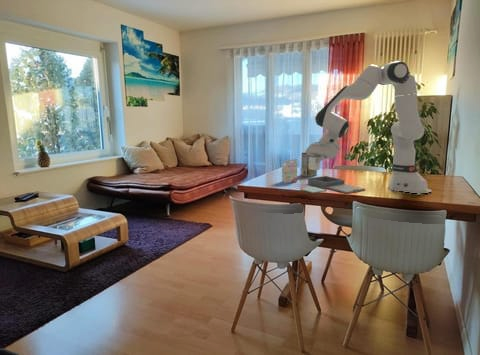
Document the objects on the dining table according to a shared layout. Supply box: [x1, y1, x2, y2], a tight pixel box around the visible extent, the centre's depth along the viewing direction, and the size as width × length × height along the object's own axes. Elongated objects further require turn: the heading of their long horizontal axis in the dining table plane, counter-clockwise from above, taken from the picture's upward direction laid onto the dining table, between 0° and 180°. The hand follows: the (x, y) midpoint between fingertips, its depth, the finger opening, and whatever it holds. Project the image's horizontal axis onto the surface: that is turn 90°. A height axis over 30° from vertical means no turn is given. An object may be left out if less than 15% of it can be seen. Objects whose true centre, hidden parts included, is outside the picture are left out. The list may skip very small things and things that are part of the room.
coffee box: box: [300, 151, 318, 177], centre depth 236 cm, size 9×6×16 cm
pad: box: [300, 186, 327, 194], centre depth 192 cm, size 10×10×1 cm
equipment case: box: [307, 175, 366, 194], centre depth 200 cm, size 30×15×4 cm, turn 32°
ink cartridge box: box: [281, 158, 298, 184], centre depth 214 cm, size 9×5×15 cm, turn 112°
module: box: [309, 154, 321, 171], centre depth 189 cm, size 4×4×8 cm
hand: (313, 161), depth 188 cm, fingers closed on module, 4 cm apart
